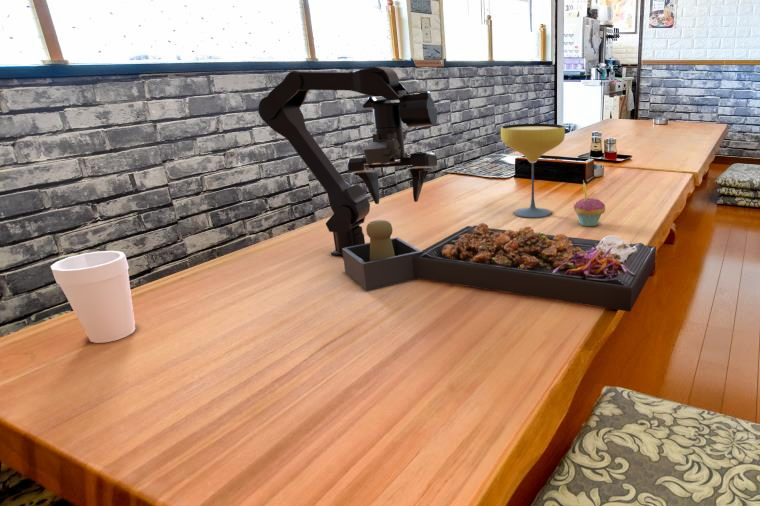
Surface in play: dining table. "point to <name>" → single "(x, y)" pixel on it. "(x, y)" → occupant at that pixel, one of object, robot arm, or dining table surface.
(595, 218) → the cupcake
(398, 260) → the dark grey open box
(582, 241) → the food platter
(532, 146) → the cocktail glass
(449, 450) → the dining table surface
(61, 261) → the foam cup
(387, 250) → the cork
